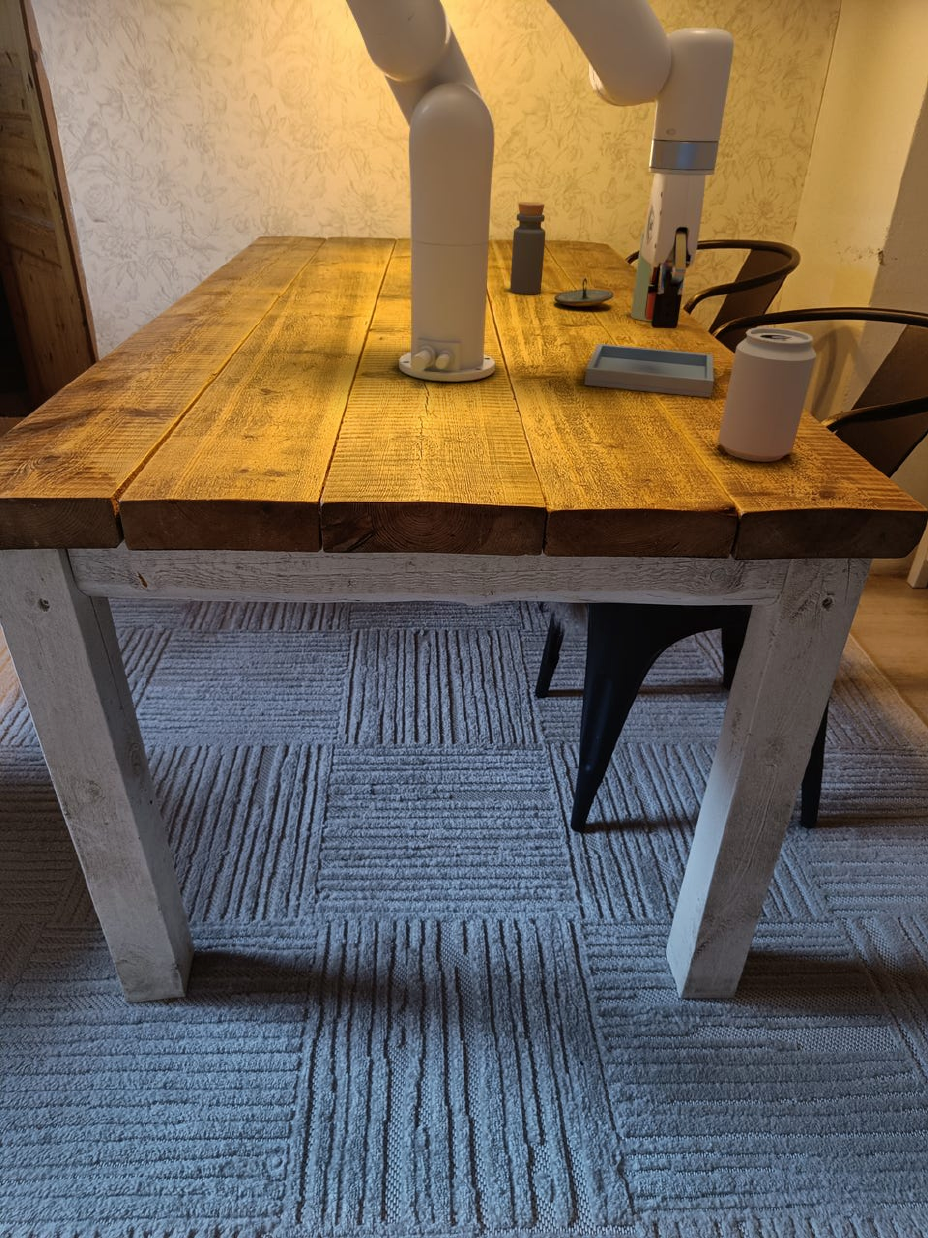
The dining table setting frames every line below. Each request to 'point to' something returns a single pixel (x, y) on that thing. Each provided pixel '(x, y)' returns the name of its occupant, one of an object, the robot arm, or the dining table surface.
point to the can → (766, 393)
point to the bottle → (528, 250)
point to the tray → (651, 370)
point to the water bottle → (641, 287)
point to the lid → (583, 297)
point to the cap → (650, 305)
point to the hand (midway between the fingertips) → (660, 321)
